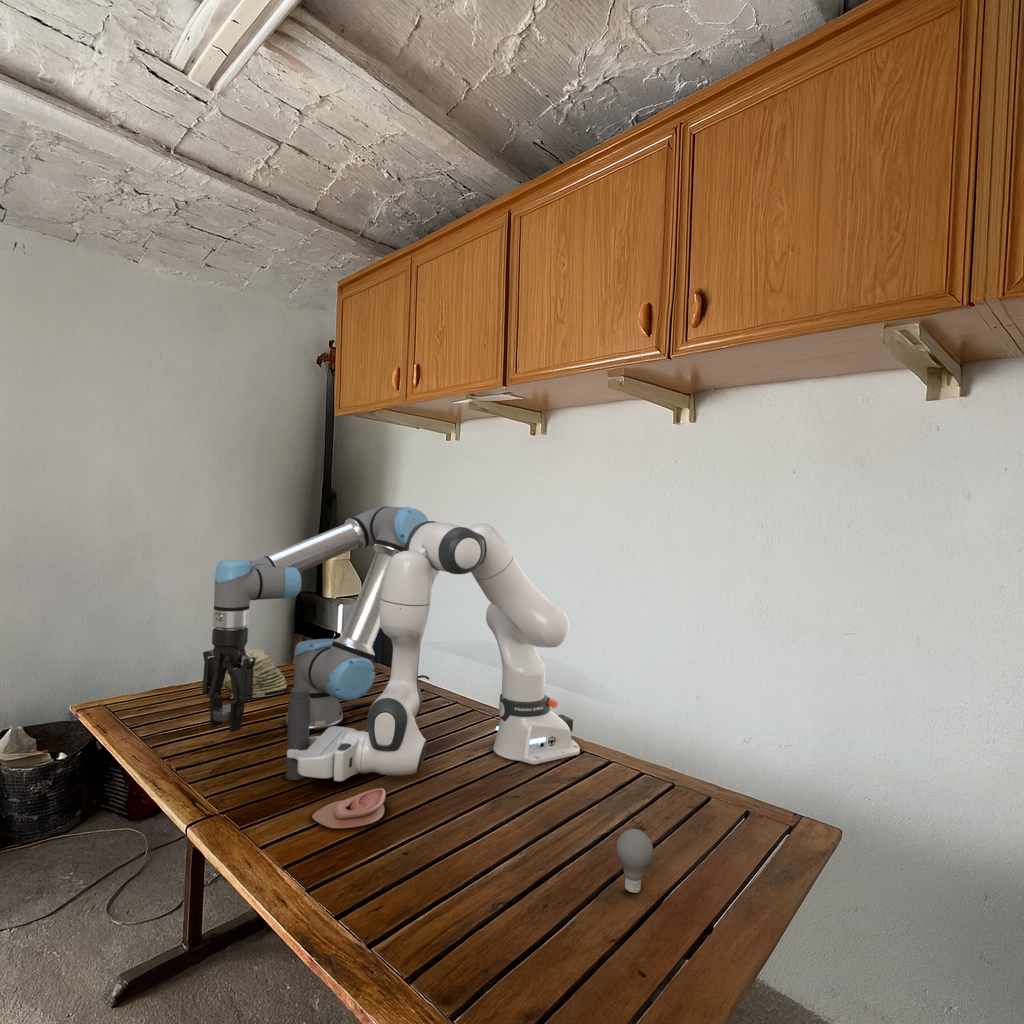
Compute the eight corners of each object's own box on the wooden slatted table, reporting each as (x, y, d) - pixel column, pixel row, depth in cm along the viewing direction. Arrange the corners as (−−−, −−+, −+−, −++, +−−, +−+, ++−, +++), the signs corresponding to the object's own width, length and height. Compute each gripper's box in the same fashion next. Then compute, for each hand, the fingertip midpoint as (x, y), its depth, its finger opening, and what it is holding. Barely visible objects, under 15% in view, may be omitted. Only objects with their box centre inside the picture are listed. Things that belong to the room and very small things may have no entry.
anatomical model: (304, 803, 122) (333, 778, 133) (303, 824, 122) (332, 797, 133) (368, 813, 119) (392, 787, 131) (368, 834, 119) (391, 806, 131)
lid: (243, 716, 147) (243, 707, 147) (223, 723, 142) (224, 714, 142) (227, 712, 149) (227, 703, 149) (207, 718, 144) (207, 709, 144)
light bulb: (610, 879, 108) (613, 822, 108) (644, 879, 109) (647, 822, 109) (619, 902, 102) (622, 840, 102) (655, 901, 103) (658, 840, 103)
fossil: (218, 695, 195) (220, 647, 195) (278, 685, 208) (279, 640, 207) (228, 703, 189) (230, 653, 188) (289, 692, 201) (290, 645, 201)
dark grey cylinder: (281, 776, 143) (284, 689, 142) (299, 769, 146) (302, 684, 146) (294, 782, 140) (297, 693, 140) (311, 775, 144) (315, 689, 143)
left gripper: (187, 625, 145) (182, 726, 145) (249, 635, 138) (243, 740, 139) (213, 620, 152) (208, 716, 152) (273, 629, 145) (268, 730, 146)
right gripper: (367, 721, 153) (311, 717, 153) (339, 755, 132) (275, 750, 133) (366, 747, 153) (310, 743, 154) (338, 785, 132) (273, 780, 133)
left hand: (225, 728), depth 145 cm, fingers closed on lid, 5 cm apart
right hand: (293, 747), depth 143 cm, fingers closed on dark grey cylinder, 5 cm apart
